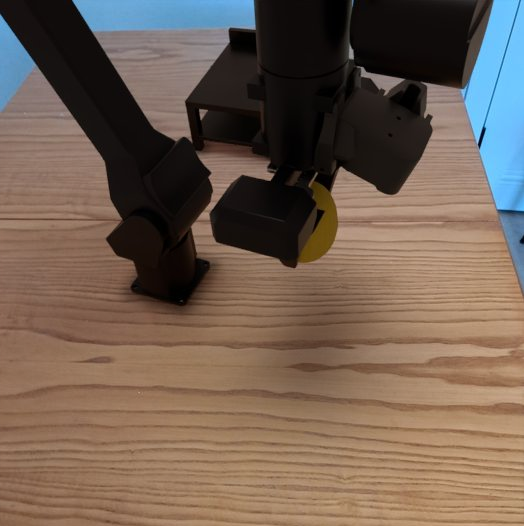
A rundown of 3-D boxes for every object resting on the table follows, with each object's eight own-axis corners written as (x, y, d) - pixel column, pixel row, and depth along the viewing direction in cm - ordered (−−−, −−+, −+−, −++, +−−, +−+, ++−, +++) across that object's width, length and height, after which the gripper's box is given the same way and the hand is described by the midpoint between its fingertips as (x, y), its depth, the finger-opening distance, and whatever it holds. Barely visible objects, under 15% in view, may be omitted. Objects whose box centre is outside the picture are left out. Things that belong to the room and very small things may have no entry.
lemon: (261, 250, 51) (255, 173, 44) (317, 230, 52) (319, 152, 45) (288, 291, 47) (286, 214, 41) (347, 268, 49) (354, 191, 42)
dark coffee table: (296, 166, 71) (295, 102, 65) (193, 150, 75) (182, 88, 68) (329, 98, 80) (331, 36, 74) (236, 87, 84) (230, 27, 77)
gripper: (386, 168, 28) (361, 354, 41) (466, 6, 38) (426, 196, 51) (189, 127, 32) (221, 312, 44) (309, -12, 41) (308, 171, 54)
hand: (303, 243), depth 48 cm, fingers closed on lemon, 5 cm apart
